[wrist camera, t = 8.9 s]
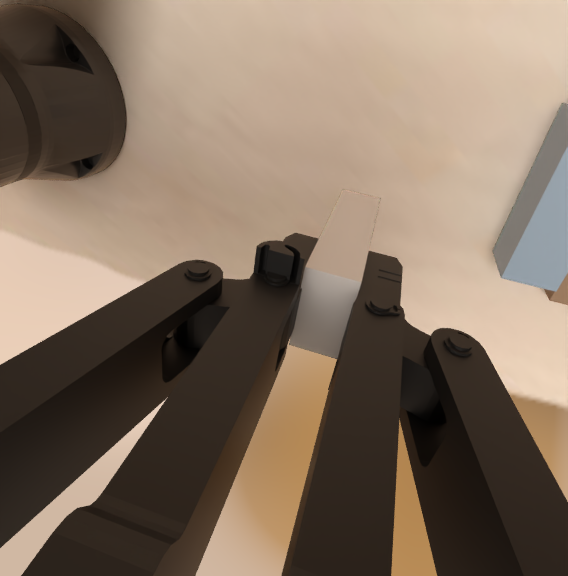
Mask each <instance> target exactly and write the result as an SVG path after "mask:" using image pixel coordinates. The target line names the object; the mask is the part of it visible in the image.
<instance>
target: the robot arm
mask: <svg viewBox="0 0 568 576" xmlns="http://www.w3.org/2000/svg"><path fill="white" fill-rule="evenodd" d="M124 134H125V107H124V101H123V96H122V92H121V89H120V86H119V83H118V80H117V77H116V75H115V73H114V70H113V68H112V66H111V64H110V62H109V61H108V59H107V57H106V55H105V54H104V52H103V51H102V49H101V48H100V47H99V45H98V44H97V43H96V41H95V40H94V39H93V38H92V37H91V35H90V34H89V33H88V32H87V31H86V30H85V29H84V28H83V27H81V26H80V25H79V24H78V23H77V22H75V21H74V20H73V19H71V18H70V17H68V16H67V15H65V14H63V13H61V12H59V11H57V10H55V9H52V8H49V7H44V6H38V5H26V4H10V5H5V6H1V7H0V187H2V186H4V185H7V184H10V183H13V182H15V181H18V180H22V179H39V180H64V181H71V180H78V179H82V178H85V177H88V176H90V175H93V174H96V173H98V172H100V171H102V170H104V169H105V168H107V167H108V166H109V165H110V164H111V163H112V162H113V161H114V159H115V158H116V156H117V155H118V153H119V151H120V149H121V146H122V143H123V139H124ZM380 199H381V198H378V197H374V196H370V195H366V194H361V193H357V192H353V191H349V190H345V189H343V190H342V192H341V194H340V196H339V198H338V201H337V203H336V205H335V207H334V209H333V211H332V213H331V215H330V217H329V219H328V221H327V223H326V225H325V227H324V229H323V231H322V233H321V235H320V237H319V239H317V238H313V237H310V236H306V235H302V234H298V233H294V234H292V235H290V236H287V237H286V238H285V239H284V241H267V242H263V243H261V244H259V245H258V246H257V249H256V257H255V265H254V273H253V274H252V276H251V277H250V278H249V279H244V280H235V279H223V272H222V270H221V268H220V267H218V266H217V265H215V264H214V263H211V262H207V261H203V260H192V261H186V262H183V263H180V264H178V265H176V266H175V267H173V268H171V269H169V270H167V271H166V272H164V273H162V274H160V275H159V276H157V277H155V278H153V279H152V280H150V281H148V282H146V283H144V284H143V285H141V286H139V287H137V288H136V289H134V290H132V291H130V292H129V293H127V294H125V295H123V296H122V297H120V298H118V299H116V300H114V301H113V302H111V303H109V304H107V305H105V306H104V307H102V308H100V309H98V310H97V311H95V312H93V313H91V314H90V315H88V316H86V317H84V318H83V319H81V320H79V321H77V322H75V323H74V324H72V325H70V326H68V327H67V328H65V329H63V330H61V331H60V332H58V333H56V334H54V335H52V336H51V337H49V338H47V339H46V340H44V341H42V342H40V343H38V344H37V345H35V346H33V347H31V348H29V349H28V350H26V351H24V352H22V353H20V354H19V355H17V356H15V357H13V358H12V359H10V360H8V361H6V362H5V363H3V364H1V365H0V548H1V547H2V546H3V545H4V544H5V543H6V542H7V541H9V540H10V539H11V538H12V537H13V536H14V535H15V534H16V533H17V532H19V531H20V530H21V529H22V528H23V527H24V526H25V525H26V524H27V523H29V522H30V521H31V520H32V519H33V518H34V517H35V516H36V515H37V514H38V513H40V512H41V511H42V510H43V509H44V508H45V507H46V506H47V505H48V504H50V503H51V502H52V501H53V500H54V499H55V498H56V497H57V496H58V495H60V494H61V493H62V492H63V491H64V490H65V489H66V488H67V487H68V486H70V484H72V483H73V482H74V481H75V480H76V479H77V478H78V477H79V476H81V475H82V474H83V473H84V472H85V471H86V470H87V469H88V468H90V467H91V466H92V465H93V464H94V463H95V462H96V461H97V460H98V459H99V458H100V457H102V456H103V455H104V454H105V453H106V452H107V451H108V450H109V449H110V448H112V447H113V446H114V445H115V444H116V443H117V442H118V441H119V440H121V438H123V437H124V436H125V435H126V434H127V433H128V432H129V431H131V430H132V429H133V428H134V427H135V426H136V425H137V424H138V423H139V422H141V421H142V420H143V419H144V418H145V417H146V416H147V415H148V414H149V413H151V412H152V411H153V410H154V409H155V408H156V407H157V406H158V405H159V404H160V403H162V402H163V401H164V400H165V399H166V398H167V397H168V398H167V399H166V401H165V402H164V404H163V405H162V406H161V408H160V409H159V411H158V412H157V414H156V415H155V417H154V418H153V420H152V421H151V422H150V424H149V425H148V427H147V429H146V430H145V431H144V433H143V434H142V436H141V437H140V439H139V440H138V441H137V443H136V444H135V446H134V447H133V449H132V450H131V452H130V453H129V455H128V456H127V458H126V459H125V460H124V462H123V463H122V465H121V466H120V468H119V469H118V471H117V472H116V474H115V475H114V476H113V478H112V479H111V481H110V482H109V484H108V485H107V487H106V488H105V490H104V491H103V492H102V494H101V495H100V496H99V498H98V499H97V500H96V501H95V502H93V503H92V504H91V505H90V506H85V507H80V508H77V509H76V510H74V511H73V512H72V513H71V514H69V515H68V516H67V517H66V518H65V519H64V520H63V521H62V522H61V524H60V525H59V526H58V527H57V528H56V529H55V531H54V532H53V533H52V535H51V536H50V537H49V538H48V540H47V541H46V543H45V544H44V546H43V547H42V548H41V549H40V551H39V552H38V554H37V555H36V556H35V558H34V559H33V560H32V562H31V563H30V564H29V566H28V567H27V569H26V570H25V571H24V573H23V574H22V575H21V576H195V575H196V572H197V570H198V568H199V565H200V563H201V560H202V558H203V555H204V553H205V550H206V548H207V546H208V543H209V541H210V538H211V536H212V533H213V531H214V528H215V526H216V523H217V521H218V519H219V516H220V514H221V511H222V509H223V507H224V504H225V501H226V499H227V497H228V494H229V492H230V489H231V487H232V485H233V482H234V479H235V477H236V475H237V472H238V470H239V467H240V465H241V462H242V460H243V457H244V455H245V453H246V450H247V448H248V445H249V443H250V441H251V438H252V436H253V433H254V431H255V428H256V426H257V424H258V421H259V418H260V416H261V413H262V411H263V409H264V406H265V404H266V401H267V399H268V396H269V394H270V392H271V389H272V387H273V384H274V382H275V380H276V377H277V375H278V372H279V370H280V367H281V365H282V362H283V360H284V357H285V354H286V349H287V344H288V341H289V339H290V343H289V345H292V346H295V347H299V348H302V349H305V350H309V351H312V352H315V353H319V354H322V355H325V356H329V357H332V358H335V359H337V362H336V366H335V368H334V372H333V375H332V379H331V382H330V385H329V388H328V390H329V392H328V395H327V400H326V403H325V407H324V411H323V415H322V419H321V423H320V427H319V431H318V434H317V439H316V443H315V446H314V450H313V454H312V458H311V462H310V466H309V470H308V474H307V478H306V482H305V486H304V489H303V493H302V497H301V501H300V505H299V509H298V513H297V517H296V521H295V525H294V529H293V532H292V536H291V541H290V544H289V548H288V552H287V556H286V560H285V564H284V568H283V572H282V576H391V567H392V547H393V528H394V510H395V509H394V508H395V490H396V471H397V452H398V433H399V418H400V422H401V427H402V430H403V435H404V439H405V443H406V447H407V451H408V455H409V460H410V464H411V468H412V472H413V476H414V481H415V485H416V489H417V493H418V497H419V501H420V505H421V509H422V514H423V518H424V522H425V526H426V531H427V535H428V539H429V543H430V547H431V551H432V555H433V560H434V564H435V568H436V572H437V576H568V502H567V500H566V498H565V496H564V495H563V493H562V491H561V489H560V487H559V485H558V483H557V482H556V480H555V478H554V476H553V474H552V472H551V470H550V469H549V467H548V465H547V463H546V461H545V460H544V458H543V456H542V454H541V452H540V450H539V448H538V447H537V445H536V443H535V441H534V440H533V437H532V436H531V434H530V432H529V430H528V429H527V427H526V425H525V423H524V421H523V419H522V417H521V415H520V414H519V412H518V410H517V408H516V406H515V404H514V403H513V401H512V399H511V397H510V395H509V393H508V392H507V390H506V388H505V386H504V384H503V382H502V381H501V379H500V377H499V375H498V373H497V371H496V370H495V368H494V366H493V364H492V362H491V360H490V359H489V357H488V355H487V353H486V351H485V349H484V348H483V347H482V346H481V344H480V343H479V342H478V341H476V340H475V339H474V338H473V337H471V336H470V335H468V334H466V333H464V332H461V331H459V330H454V329H451V328H440V329H437V330H435V331H434V332H433V333H432V335H431V336H430V335H428V334H426V333H424V332H422V331H420V330H418V329H416V328H415V327H413V326H412V325H410V324H409V323H408V322H407V321H406V320H405V319H404V317H405V314H404V310H403V308H402V307H401V306H400V299H401V282H402V268H403V267H402V265H401V264H400V262H399V261H398V259H397V258H395V257H391V256H387V255H383V254H379V253H375V252H371V251H369V247H370V243H371V238H372V234H373V230H374V225H375V221H376V217H377V212H378V208H379V203H380ZM290 337H291V338H290Z"/></svg>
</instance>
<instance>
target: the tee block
mask: <svg viewBox="0 0 568 576" xmlns="http://www.w3.org/2000/svg"><path fill="white" fill-rule="evenodd" d="M493 254H494V257H495V260H496V263H497V267H498V270H499V273H500V276H501V278H503V279H507V280H511V281H515V282H519V283H523V284H527V285H531V286H535V287H539V288H543V289H547V290H551V291H555V292H556V291H557V290H558V288H559V286H560V285H561V283H562V281H563V280H564V278H565V276H566V275H567V273H568V104H565V103H562V104H561V106H560V108H559V110H558V112H557V115H556V117H555V119H554V121H553V123H552V125H551V127H550V130H549V132H548V134H547V136H546V138H545V140H544V142H543V144H542V147H541V149H540V151H539V153H538V155H537V157H536V159H535V161H534V164H533V166H532V168H531V170H530V172H529V174H528V176H527V178H526V181H525V183H524V185H523V187H522V189H521V191H520V193H519V195H518V198H517V200H516V202H515V204H514V206H513V208H512V210H511V213H510V215H509V217H508V219H507V221H506V223H505V225H504V227H503V230H502V232H501V234H500V236H499V238H498V240H497V242H496V244H495V247H494V249H493Z"/></svg>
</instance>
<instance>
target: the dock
mask: <svg viewBox="0 0 568 576" xmlns="http://www.w3.org/2000/svg"><path fill="white" fill-rule="evenodd" d="M544 290H545V292H546V294H547V296H548V298H549V300H550V301H554V302H558V303H562V304H566V305H568V273H567V275H566V276H565V278H564V280H563V281H562V283H561V285H560V286H559V288H558V290H557V291H556V292H555V291H551V290H547V289H544Z"/></svg>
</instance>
